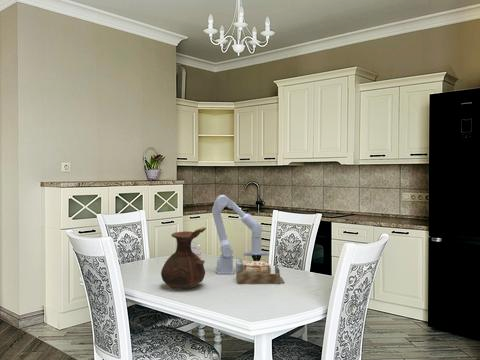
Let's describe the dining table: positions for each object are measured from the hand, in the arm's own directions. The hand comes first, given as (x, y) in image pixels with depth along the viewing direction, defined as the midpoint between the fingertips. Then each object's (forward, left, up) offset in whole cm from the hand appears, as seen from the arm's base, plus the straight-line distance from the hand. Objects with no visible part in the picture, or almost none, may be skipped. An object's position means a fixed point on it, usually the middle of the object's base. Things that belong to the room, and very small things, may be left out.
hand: (256, 268), depth 257 cm
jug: (-39, -31, -2) cm, 50 cm away
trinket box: (-1, -8, -3) cm, 8 cm away
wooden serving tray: (-1, -20, -2) cm, 21 cm away
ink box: (-37, +24, -2) cm, 44 cm away
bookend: (+11, -20, -2) cm, 22 cm away
